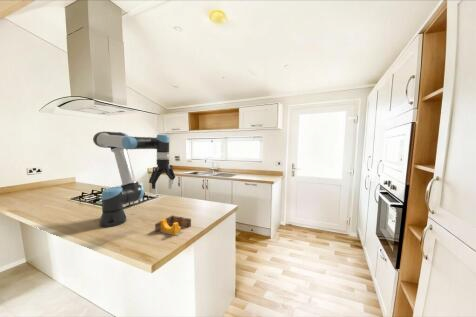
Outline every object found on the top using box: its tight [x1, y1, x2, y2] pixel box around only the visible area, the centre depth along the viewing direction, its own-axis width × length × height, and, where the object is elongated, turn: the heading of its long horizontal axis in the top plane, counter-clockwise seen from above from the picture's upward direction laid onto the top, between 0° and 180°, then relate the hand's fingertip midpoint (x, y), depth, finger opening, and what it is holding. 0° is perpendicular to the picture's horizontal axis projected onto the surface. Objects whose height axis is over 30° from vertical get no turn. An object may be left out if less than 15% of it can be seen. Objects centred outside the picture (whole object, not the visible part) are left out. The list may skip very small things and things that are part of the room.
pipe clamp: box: [160, 218, 182, 236], centre depth 113 cm, size 12×4×6 cm, turn 63°
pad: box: [159, 230, 183, 236], centre depth 113 cm, size 13×5×1 cm, turn 68°
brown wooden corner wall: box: [154, 215, 192, 233], centre depth 117 cm, size 15×15×5 cm
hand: (163, 191), depth 122 cm, fingers open, 13 cm apart
